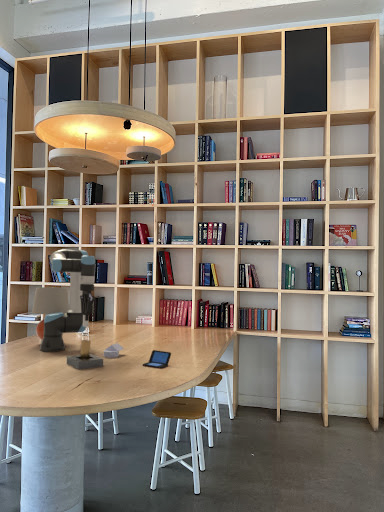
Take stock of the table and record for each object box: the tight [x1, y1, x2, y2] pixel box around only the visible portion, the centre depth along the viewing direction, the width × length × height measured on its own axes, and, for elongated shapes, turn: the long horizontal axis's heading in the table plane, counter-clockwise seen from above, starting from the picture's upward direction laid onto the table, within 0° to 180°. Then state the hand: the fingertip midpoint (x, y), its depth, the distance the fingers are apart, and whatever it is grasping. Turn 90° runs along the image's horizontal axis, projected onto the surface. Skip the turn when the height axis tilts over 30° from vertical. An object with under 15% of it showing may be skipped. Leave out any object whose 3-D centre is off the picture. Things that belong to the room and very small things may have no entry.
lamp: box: [31, 286, 70, 344], centre depth 289 cm, size 25×25×39 cm
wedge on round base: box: [103, 342, 125, 359], centre depth 254 cm, size 9×7×13 cm
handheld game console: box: [141, 349, 172, 370], centre depth 229 cm, size 12×11×7 cm
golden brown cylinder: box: [79, 339, 92, 360], centre depth 226 cm, size 5×5×12 cm
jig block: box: [66, 353, 104, 370], centre depth 226 cm, size 16×14×4 cm
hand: (85, 326), depth 230 cm, fingers closed
